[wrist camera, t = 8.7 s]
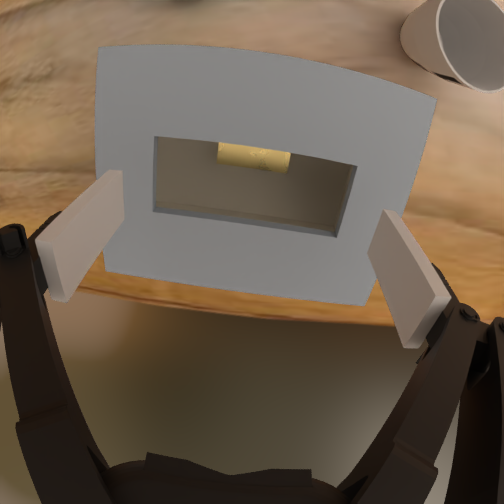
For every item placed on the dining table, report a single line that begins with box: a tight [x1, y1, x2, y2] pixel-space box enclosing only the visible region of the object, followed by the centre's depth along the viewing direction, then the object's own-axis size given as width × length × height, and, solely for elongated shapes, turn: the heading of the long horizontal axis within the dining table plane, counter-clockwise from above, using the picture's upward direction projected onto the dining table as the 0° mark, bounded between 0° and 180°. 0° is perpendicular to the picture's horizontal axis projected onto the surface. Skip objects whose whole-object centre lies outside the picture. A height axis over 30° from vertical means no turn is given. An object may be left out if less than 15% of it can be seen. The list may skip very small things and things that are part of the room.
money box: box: [95, 45, 437, 306], centre depth 24 cm, size 16×20×12 cm
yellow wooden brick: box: [216, 142, 291, 174], centre depth 27 cm, size 3×6×3 cm, turn 82°
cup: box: [400, 0, 504, 93], centre depth 18 cm, size 8×8×10 cm
